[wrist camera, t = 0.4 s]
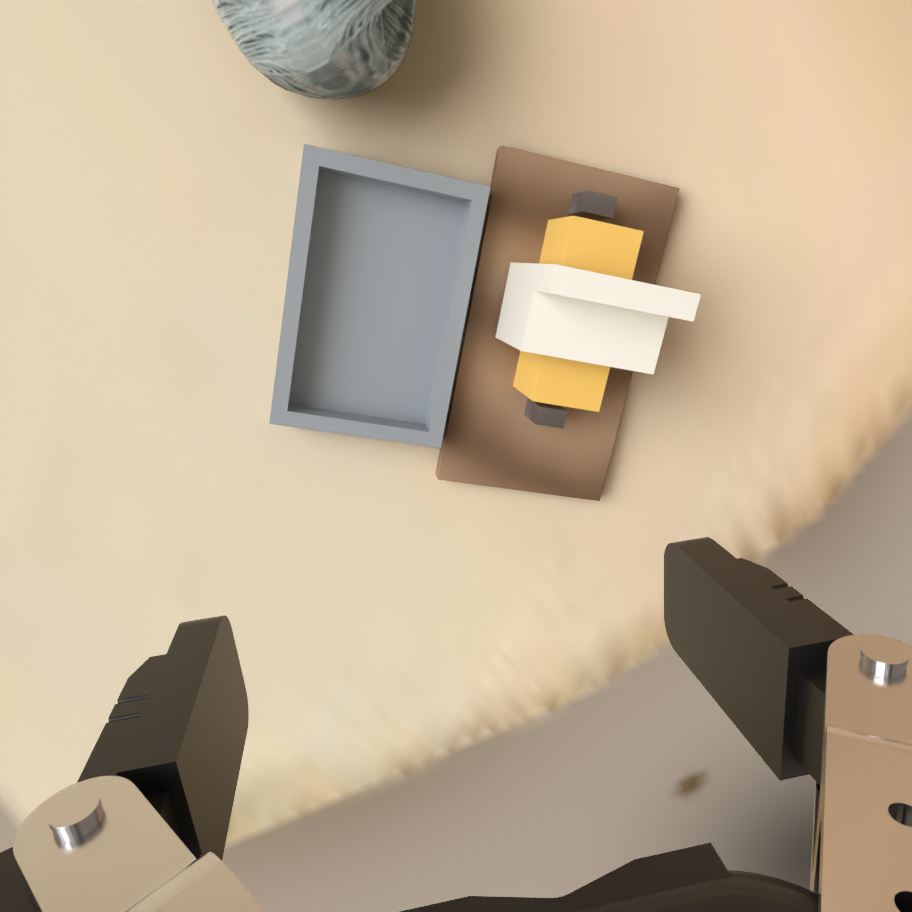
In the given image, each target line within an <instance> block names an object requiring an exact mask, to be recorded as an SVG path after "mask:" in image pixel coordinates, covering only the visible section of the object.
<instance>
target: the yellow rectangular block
mask: <svg viewBox="0 0 912 912" xmlns="http://www.w3.org/2000/svg"><path fill="white" fill-rule="evenodd" d="M643 233H644V231H641V230H636V229H632V228H627V227H623V226H618V225H614V224H609V223H605V222H600V221H596V220H592V219H587V218H583V217H578V216H569V217H563V218H557V219H551V220H548V223H547V228H546V233H545V237H544V242H543V247H542V251H541V256H540V261H539V264H557V265H562V266H567V267H571V268H576V269H581V270H586V271H591V272H596V273H600V274H605V275H610V276H615V277H620V278H624V279H629V280H632V277H633V273H634V269H635V265H636V261H637V257H638V253H639V249H640V245H641V241H642V237H643ZM609 370H610V367H608V366H603V365H597V364H591V363H586V362H580V361H575V360H569V359H563V358H558V357H552V356H546V355H541V354H535V353H529V352H524V351H520V355H519V360H518V364H517V369H516V374H515V378H514V383H513V387H515V388H516V389H517V390H519V391H520V392H521V393H523V394H524V395H525V396H527V397H528V398H529V399H531V400H532V401H534V402H540V403H547V404H553V405H559V406H565V407H571V408H577V409H584V410H590V411H596V412H599V411H600V407H601V402H602V398H603V394H604V390H605V386H606V382H607V378H608V374H609Z"/></svg>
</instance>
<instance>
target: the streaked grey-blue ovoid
mask: <svg viewBox="0 0 912 912" xmlns="http://www.w3.org/2000/svg"><path fill="white" fill-rule="evenodd" d="M211 1H212V3H213V5H214V7H215V9H216V11H217V12H218V14H219V16H220V18H221V20H222V22H223V23H224V25H225V27H226V28H227V30H228V32H229V34H230V35H231V37H232V38H233V40H234V41H235V43H236V44H237V46H238V47H239V49H240V50H241V52H242V53H243V55H244V56H245V57H246V59H247V60H248V61H249V63H250V64H251V65H253V66H254V67H255V68H256V69H257V70H258V71H260V72H261V73H262V74H263V75H264V76H266V77H267V78H268V79H269V80H270V81H272V82H273V83H274V84H276V85H278V86H280V87H282V88H283V89H285V90H288V91H291V92H295V93H298V94H301V95H304V96H307V97H311V98H319V99H329V100H334V99H342V98H347V97H354V96H358V95H362V94H364V93H366V92H369V91H371V90H373V89H375V88H377V87H379V86H380V85H381V84H383V83H384V82H385V81H386V80H387V79H388V78H389V77H390V76H392V75H393V74H394V73H395V72H396V71H397V69H398V68H399V66H400V65H401V63H402V61H403V59H404V57H405V55H406V52H407V50H408V48H409V45H410V41H411V37H412V33H413V26H414V19H415V9H416V0H211Z"/></svg>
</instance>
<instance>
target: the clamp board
mask: <svg viewBox="0 0 912 912" xmlns="http://www.w3.org/2000/svg"><path fill="white" fill-rule="evenodd" d="M678 192H679V188H675V187H671V186H667V185H663V184H659V183H655V182H650V181H646V180H642V179H638V178H634V177H630V176H626V175H621V174H617V173H613V172H609V171H605V170H601V169H597V168H592V167H588V166H584V165H580V164H576V163H572V162H568V161H563V160H559V159H555V158H551V157H547V156H543V155H539V154H534V153H530V152H526V151H522V150H518V149H514V148H510V147H505V146H501V147H499V148H498V149H497V154H496V160H495V165H494V170H493V176H492V181H491V187H490V192H489V197H488V203H487V208H486V213H485V218H484V224H483V229H482V234H481V239H480V245H479V250H478V255H477V260H476V266H475V271H474V276H473V281H472V287H471V292H470V297H469V302H468V308H467V313H466V318H465V323H464V329H463V334H462V339H461V345H460V350H459V355H458V360H457V366H456V371H455V376H454V381H453V387H452V392H451V397H450V402H449V408H448V413H447V418H446V423H445V429H444V434H443V439H442V444H441V449H440V454H439V459H438V465H437V470H436V476H437V478H438V479H439V480H447V481H454V482H462V483H469V484H477V485H484V486H492V487H499V488H507V489H514V490H522V491H529V492H537V493H544V494H552V495H559V496H567V497H574V498H582V499H589V500H597V501H599V500H600V497H601V493H602V489H603V485H604V481H605V477H606V473H607V469H608V465H609V461H610V457H611V454H612V450H613V446H614V442H615V438H616V434H617V430H618V426H619V422H620V418H621V415H622V411H623V407H624V403H625V399H626V395H627V391H628V387H629V383H630V379H631V376H632V372H633V371H631V370H625V369H620V368H614V367H610V370H609V374H608V378H607V382H606V386H605V390H604V394H603V398H602V402H601V407H600V411H599V412H596V411H590V410H584V409H577V408H571V407H565V406H559V405H553V404H547V403H540V402H534V401H532V400H531V399H529V398H528V397H527V396H525V395H524V394H523V393H521V392H520V391H519V390H517V389H516V388H515V387H513V383H514V378H515V374H516V369H517V364H518V360H519V355H520V350H518V349H516V348H514V347H513V346H511V345H509V344H507V343H505V342H503V341H501V340H499V339H497V338H496V337H495V336H496V331H497V326H498V322H499V317H500V312H501V307H502V302H503V297H504V292H505V287H506V282H507V277H508V272H509V267H510V262H513V263H538V264H539V261H540V256H541V251H542V247H543V242H544V237H545V233H546V228H547V223H548V220H551V219H557V218H563V217H569V216H578V217H583V218H587V219H592V220H596V221H600V222H605V223H609V224H614V225H618V226H623V227H627V228H632V229H636V230H641V231H644V233H643V237H642V241H641V245H640V249H639V253H638V257H637V261H636V265H635V269H634V273H633V277H632V280H634V281H639V282H644V283H649V284H653V285H655V282H656V278H657V274H658V270H659V266H660V262H661V258H662V254H663V251H664V247H665V243H666V239H667V235H668V231H669V227H670V223H671V219H672V215H673V212H674V208H675V204H676V200H677V196H678Z"/></svg>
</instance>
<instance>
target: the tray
mask: <svg viewBox="0 0 912 912" xmlns="http://www.w3.org/2000/svg"><path fill="white" fill-rule="evenodd" d="M490 187H491V186H486V185H482V184H477V183H473V182H469V181H464V180H460V179H455V178H451V177H447V176H442V175H438V174H433V173H429V172H425V171H420V170H416V169H412V168H407V167H403V166H398V165H394V164H390V163H385V162H381V161H376V160H372V159H368V158H363V157H359V156H354V155H350V154H346V153H341V152H337V151H332V150H328V149H324V148H319V147H315V146H310V145H306V144H304V149H303V157H302V165H301V173H300V181H299V189H298V197H297V206H296V214H295V222H294V230H293V238H292V246H291V254H290V262H289V270H288V278H287V287H286V295H285V303H284V311H283V319H282V327H281V335H280V343H279V351H278V359H277V367H276V376H275V384H274V392H273V400H272V408H271V416H270V424H275V425H282V426H289V427H296V428H303V429H310V430H317V431H324V432H331V433H338V434H345V435H352V436H359V437H366V438H373V439H380V440H387V441H394V442H401V443H408V444H415V445H422V446H429V447H436V448H441V444H442V439H443V434H444V429H445V423H446V418H447V413H448V408H449V402H450V397H451V392H452V387H453V381H454V376H455V371H456V366H457V360H458V355H459V350H460V345H461V339H462V334H463V329H464V323H465V318H466V313H467V308H468V302H469V297H470V292H471V287H472V281H473V276H474V271H475V266H476V260H477V255H478V250H479V245H480V239H481V234H482V229H483V224H484V218H485V213H486V208H487V203H488V197H489V192H490Z"/></svg>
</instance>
